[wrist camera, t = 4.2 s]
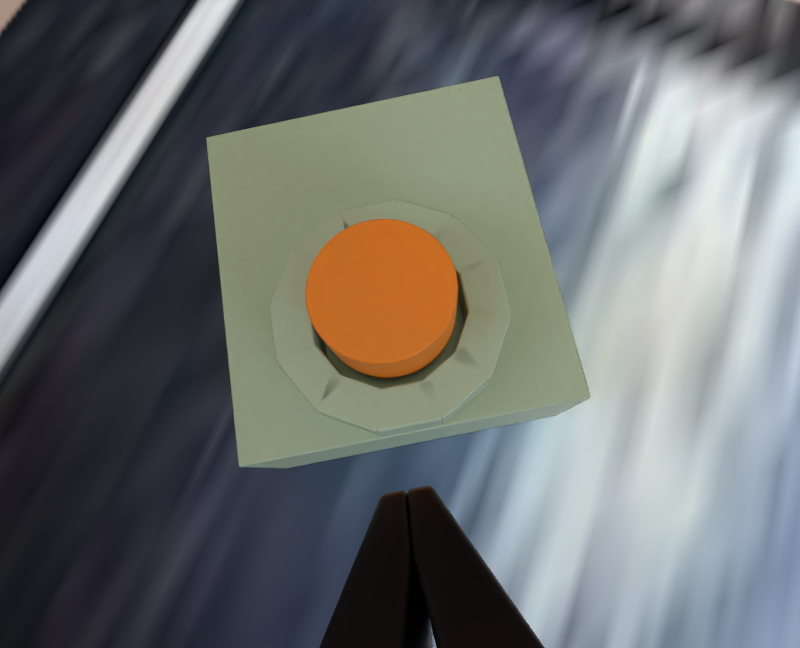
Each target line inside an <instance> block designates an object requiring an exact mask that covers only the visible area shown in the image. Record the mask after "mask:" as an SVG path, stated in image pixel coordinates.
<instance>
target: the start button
mask: <svg viewBox="0 0 800 648" xmlns="http://www.w3.org/2000/svg"><path fill="white" fill-rule="evenodd" d="M305 297H306V306H307V311H308V315H309V317H310V320H311V323H312V324H313V326H314V328H315V330H316V332H317V333H318V334H319V336H320V337H321V338H322V340H323V341H324V342H325V343H326V344H327V345H328V346H329V347H330V348H331V350H332V351H333V352H334V353H335V354H336V355H337V356H338V357H339V358H340V359H341V360H342V361H343V362H344V363H345V364H347V365H348V366H349V367H351V368H353V369H354V370H356V371H358V372H361V373H363V374H366V375H370V376H373V377H381V378H393V377H401V376H404V375H408V374H411V373H414V372H416V371H418V370H420V369H422V368H424V367H425V366H427V365H428V364H429V363H431V362H432V361H433V360H434V359H435V358H436V357H437V356H438V355H439V354H440V353H441V352H442V351H443V349H444V348H445V347H446V345H447V343H448V341H449V340H450V337H451V335H452V332H453V329H454V325H455V320H456V311H457V299H458V281H457V274H456V271H455V268H454V264H453V262H452V260H451V258H450V256H449V254H448V253H447V251H446V250H445V248H444V247H443V246H442V245H441V243H440V242H439V241H438V240H437V239H436V238H434V237H433V236H432V235H431V234H430V233H428V232H427V231H425V230H424V229H422V228H420V227H418V226H416V225H413V224H410V223H408V222H404V221H400V220H394V219H375V220H368V221H364V222H360V223H357V224H355V225H352V226H350V227H348V228H346V229H344V230H343V231H341V232H340V233H338V234H337V235H335V236H334V237H333V238H332V239H331V240H329V241H328V242H327V243H326V244H325V246H324V247H323V248H322V249H321V250H320V252H319V253H318V255H317V256H316V258H315V260H314V262H313V264H312V266H311V268H310V271H309V274H308V278H307V283H306V293H305Z"/></svg>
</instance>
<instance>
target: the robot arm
mask: <svg viewBox="0 0 800 648" xmlns="http://www.w3.org/2000/svg"><path fill="white" fill-rule="evenodd" d="M431 627H432V631H433V635H434V638H435V642H436V646H437V648H544V646H543V645H542V643H541V642H540V640H539V639H538V638H537V636H536V635H535V633H534V632H533V630H532V629H531V628H530V626H529V625H528V623H527V622H526V620H525V619H524V618H523V616H522V615H521V613H520V612H519V610H518V609H517V608H516V606H515V605H514V603H513V602H512V600H511V599H510V597H509V596H508V595H507V593H506V592H505V590H504V589H503V587H502V586H501V585H500V583H499V582H498V580H497V579H496V577H495V576H494V575H493V573H492V572H491V570H490V569H489V567H488V566H487V565H486V563H485V562H484V560H483V559H482V557H481V556H480V554H479V553H478V552H477V550H476V549H475V547H474V546H473V544H472V543H471V542H470V540H469V539H468V537H467V536H466V534H465V533H464V532H463V530H462V529H461V527H460V526H459V524H458V523H457V521H456V520H455V519H454V517H453V516H452V514H451V513H450V511H449V510H448V509H447V507H446V506H445V504H444V503H443V501H442V500H441V499H440V497H439V496H438V494H437V493H436V491H435V490H434V489H433V488H432V487H431V486H425V487H420V488H415V489H410V490H409V491H408V493H406V492H404V491H399V492H394V493H389V494H384V495H383V496H382V497H381V498H380V500H379V503H378V505H377V508H376V510H375V512H374V515H373V517H372V520H371V522H370V525H369V527H368V530H367V532H366V535H365V537H364V539H363V542H362V544H361V547H360V549H359V552H358V554H357V557H356V559H355V562H354V564H353V566H352V569H351V571H350V574H349V576H348V579H347V581H346V584H345V586H344V589H343V591H342V593H341V596H340V598H339V601H338V603H337V606H336V608H335V611H334V613H333V616H332V618H331V620H330V623H329V625H328V628H327V630H326V633H325V635H324V638H323V640H322V643H321V645H320V647H319V648H433V646H432V631H431Z"/></svg>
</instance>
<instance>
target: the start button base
mask: <svg viewBox="0 0 800 648" xmlns="http://www.w3.org/2000/svg"><path fill="white" fill-rule="evenodd" d="M207 149H208V159H209V169H210V180H211V190H212V200H213V210H214V220H215V230H216V240H217V251H218V261H219V271H220V281H221V291H222V301H223V312H224V322H225V332H226V342H227V352H228V362H229V372H230V383H231V393H232V403H233V413H234V423H235V433H236V444H237V454H238V464H239V467H259V468H291V467H296V466H301V465H307V464H312V463H317V462H322V461H327V460H332V459H337V458H342V457H347V456H352V455H357V454H363V453H368V452H373V451H378V450H383V449H388V448H393V447H398V446H403V445H408V444H414V443H419V442H424V441H429V440H434V439H439V438H444V437H449V436H454V435H459V434H465V433H470V432H475V431H480V430H485V429H490V428H495V427H500V426H505V425H510V424H515V423H521V422H526V421H531V420H536V419H541V418H546V417H551V416H556V415H558V414H560V413H562V412H563V411H565V410H567V409H569V408H571V407H573V406H575V405H577V404H579V403H581V402H583V401H585V400H587V399H589V398H590V392H589V389H588V385H587V382H586V379H585V375H584V372H583V368H582V365H581V361H580V358H579V354H578V351H577V347H576V344H575V340H574V337H573V333H572V330H571V326H570V323H569V319H568V316H567V313H566V309H565V306H564V302H563V299H562V295H561V292H560V288H559V285H558V281H557V278H556V274H555V271H554V267H553V264H552V260H551V257H550V253H549V250H548V246H547V243H546V240H545V236H544V233H543V229H542V226H541V222H540V219H539V215H538V212H537V208H536V205H535V201H534V198H533V194H532V191H531V187H530V184H529V180H528V177H527V174H526V170H525V167H524V163H523V160H522V156H521V153H520V149H519V146H518V142H517V139H516V135H515V132H514V128H513V125H512V121H511V118H510V114H509V111H508V108H507V104H506V101H505V97H504V94H503V90H502V87H501V83H500V80H499V77H498V76H495V77H491V78H486V79H481V80H476V81H472V82H467V83H462V84H457V85H453V86H448V87H443V88H439V89H434V90H429V91H424V92H420V93H415V94H410V95H405V96H401V97H396V98H391V99H386V100H382V101H377V102H372V103H368V104H363V105H358V106H353V107H349V108H344V109H339V110H334V111H330V112H325V113H320V114H316V115H311V116H306V117H301V118H297V119H292V120H287V121H282V122H278V123H273V124H268V125H263V126H259V127H254V128H249V129H245V130H240V131H235V132H230V133H226V134H221V135H216V136H211V137H207ZM375 219H394V220H400V221H404V222H408V223H410V224H413V225H416V226H418V227H420V228H422V229H424V230H425V231H427V232H428V233H430V234H431V235H432V236H433V237H434V238H436V239H437V240H438V241H439V242H440V243H441V245H442V246H443V247H444V248H445V250H446V251H447V253H448V254H449V256H450V258H451V260H452V262H453V264H454V268H455V271H456V274H457V281H458V299H457V311H456V320H455V325H454V329H453V332H452V335H451V337H450V340H449V341H448V343H447V345H446V347H445V348H444V349H443V351H442V352H441V353H440V354H439V355H438V356H437V357H436V358H435V359H434V360H433V361H432V362H431V363H429V364H428V365H427V366H425V367H424V368H422V369H420V370H418V371H416V372H414V373H411V374H408V375H404V376H401V377H393V378H381V377H373V376H370V375H366V374H363V373H361V372H358V371H356V370H354V369H353V368H351V367H349V366H348V365H347V364H345V363H344V362H343V361H342V360H341V359H340V358H339V357H338V356H337V355H336V354H335V353H334V352H333V351H332V350H331V348H330V347H329V346H328V345H327V344H326V343H325V342H324V341H323V340H322V338H321V337H320V336H319V334H318V333H317V332H316V330H315V328H314V326H313V324H312V323H311V320H310V317H309V315H308V311H307V306H306V297H305V293H306V283H307V278H308V274H309V271H310V268H311V266H312V264H313V262H314V260H315V258H316V256H317V255H318V253H319V252H320V250H321V249H322V248H323V247H324V246H325V244H326V243H327V242H328V241H329V240H331V239H332V238H333V237H334V236H335V235H337V234H338V233H340V232H341V231H343V230H344V229H346V228H348V227H350V226H352V225H355V224H357V223H360V222H364V221H368V220H375Z"/></svg>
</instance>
